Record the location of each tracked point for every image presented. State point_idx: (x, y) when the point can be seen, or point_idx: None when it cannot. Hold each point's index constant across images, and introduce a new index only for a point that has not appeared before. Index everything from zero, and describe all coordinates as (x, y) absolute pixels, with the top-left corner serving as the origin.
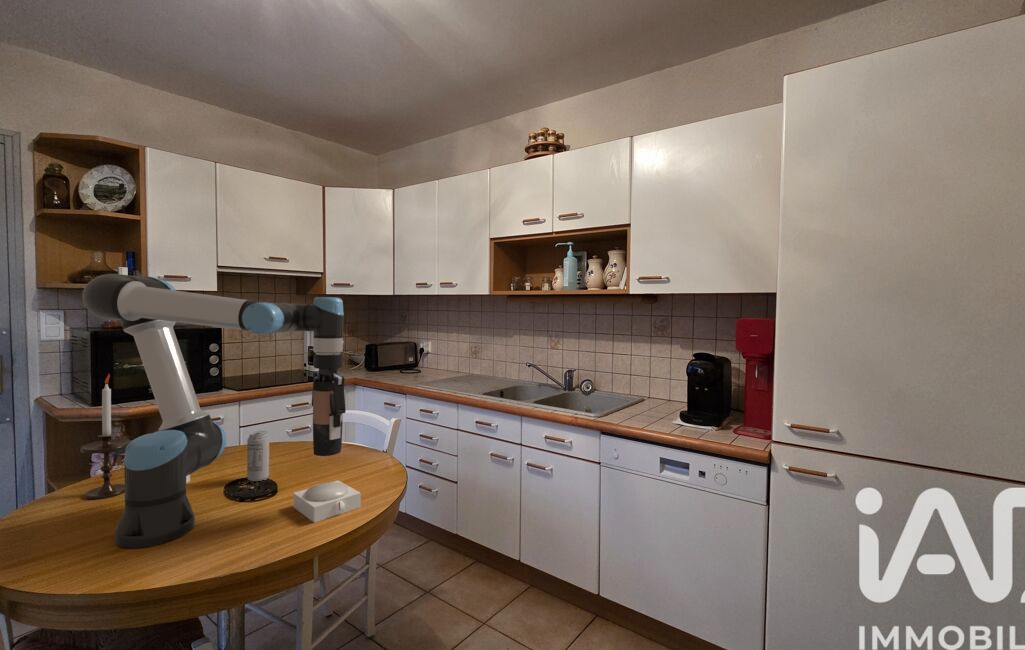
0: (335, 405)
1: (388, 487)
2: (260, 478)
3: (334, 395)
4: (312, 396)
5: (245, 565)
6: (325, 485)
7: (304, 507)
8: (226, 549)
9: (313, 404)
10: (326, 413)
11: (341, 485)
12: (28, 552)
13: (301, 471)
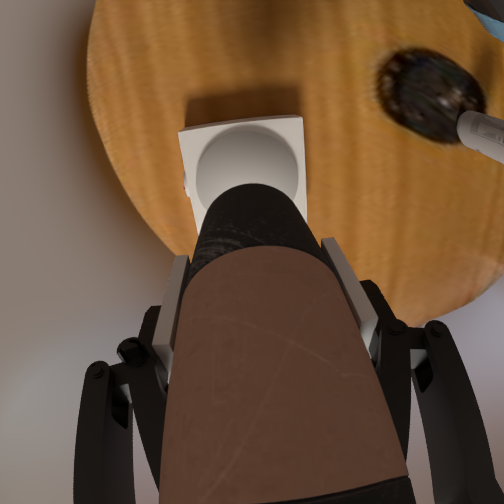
0: (89, 408)
1: None
2: (459, 125)
3: (92, 471)
4: (461, 371)
5: (101, 12)
6: (280, 189)
7: (233, 121)
8: None
9: (292, 349)
10: (175, 343)
11: None
12: None
13: (449, 201)
